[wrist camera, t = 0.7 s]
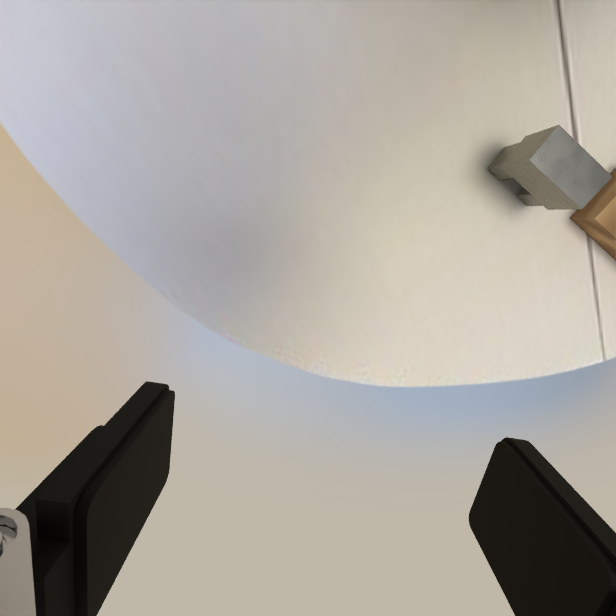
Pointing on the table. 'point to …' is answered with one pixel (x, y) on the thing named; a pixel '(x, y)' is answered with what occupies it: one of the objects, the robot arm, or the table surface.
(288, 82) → the table surface
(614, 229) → the slotted wooden block
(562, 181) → the clip
